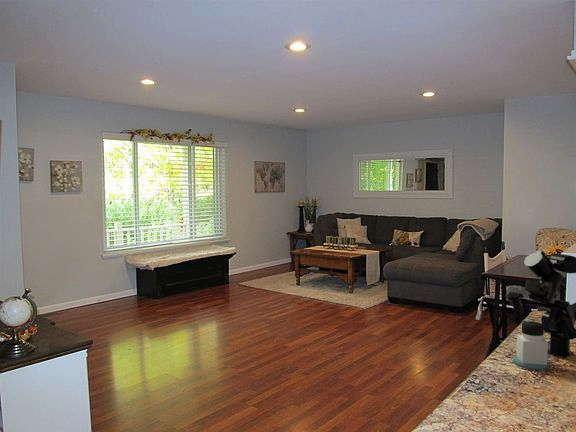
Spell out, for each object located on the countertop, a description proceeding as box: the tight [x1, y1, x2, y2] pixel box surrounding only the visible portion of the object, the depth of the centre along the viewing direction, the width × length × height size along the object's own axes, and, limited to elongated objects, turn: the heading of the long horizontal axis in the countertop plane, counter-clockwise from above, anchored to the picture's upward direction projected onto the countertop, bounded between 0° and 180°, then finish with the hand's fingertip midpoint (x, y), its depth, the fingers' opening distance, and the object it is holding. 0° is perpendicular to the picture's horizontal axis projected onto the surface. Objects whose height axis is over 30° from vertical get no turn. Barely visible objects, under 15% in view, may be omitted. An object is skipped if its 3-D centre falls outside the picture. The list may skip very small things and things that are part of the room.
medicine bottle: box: [516, 320, 549, 365], centre depth 151 cm, size 7×7×12 cm
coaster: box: [512, 355, 550, 371], centre depth 151 cm, size 10×10×1 cm
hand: (529, 326), depth 149 cm, fingers open, 9 cm apart
